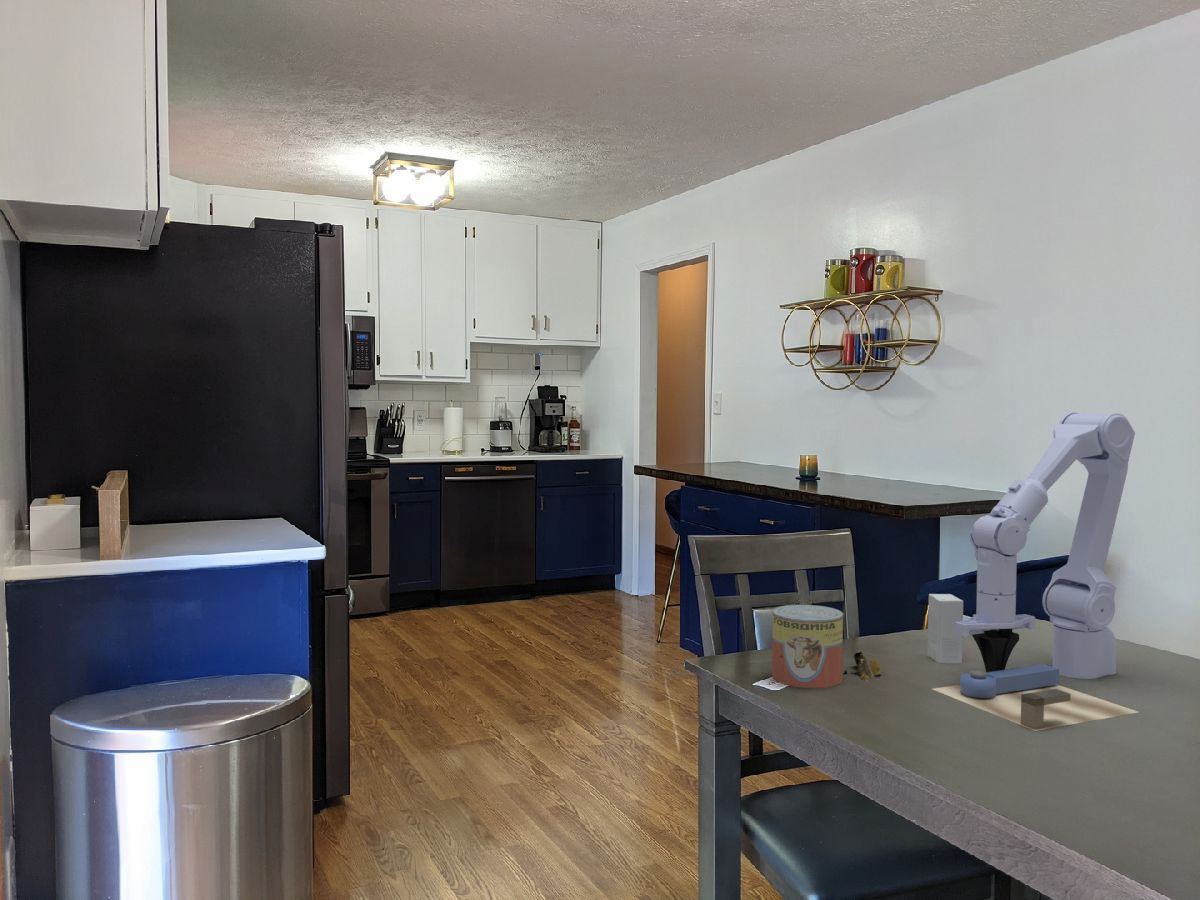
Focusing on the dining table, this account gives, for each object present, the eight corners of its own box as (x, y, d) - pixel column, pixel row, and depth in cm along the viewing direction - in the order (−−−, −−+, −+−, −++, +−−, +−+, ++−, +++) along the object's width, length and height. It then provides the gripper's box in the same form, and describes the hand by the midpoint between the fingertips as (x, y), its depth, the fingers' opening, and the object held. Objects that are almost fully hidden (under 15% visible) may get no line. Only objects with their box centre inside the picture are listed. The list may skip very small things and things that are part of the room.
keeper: (1055, 726, 131) (1056, 688, 131) (1069, 732, 129) (1070, 693, 129) (1020, 732, 129) (1021, 694, 128) (1034, 738, 127) (1035, 699, 126)
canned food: (767, 692, 147) (768, 617, 146) (775, 672, 158) (775, 602, 157) (841, 699, 144) (842, 622, 143) (843, 678, 154) (844, 606, 154)
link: (977, 699, 138) (977, 678, 138) (953, 690, 143) (953, 669, 143) (1064, 686, 145) (1064, 665, 145) (1038, 677, 150) (1038, 657, 149)
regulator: (883, 706, 143) (885, 664, 157) (874, 683, 142) (877, 643, 156) (835, 716, 145) (841, 674, 159) (827, 694, 145) (833, 653, 159)
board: (1027, 681, 152) (1027, 674, 152) (1139, 720, 134) (1139, 712, 134) (931, 696, 145) (931, 688, 145) (1035, 739, 126) (1035, 730, 126)
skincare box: (963, 670, 159) (964, 600, 158) (937, 669, 159) (939, 600, 159) (950, 660, 165) (951, 593, 165) (926, 660, 165) (927, 593, 165)
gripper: (1011, 583, 153) (1009, 665, 154) (942, 590, 148) (940, 674, 149) (1046, 592, 147) (1044, 676, 148) (975, 599, 141) (973, 687, 142)
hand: (994, 676), depth 148 cm, fingers closed
